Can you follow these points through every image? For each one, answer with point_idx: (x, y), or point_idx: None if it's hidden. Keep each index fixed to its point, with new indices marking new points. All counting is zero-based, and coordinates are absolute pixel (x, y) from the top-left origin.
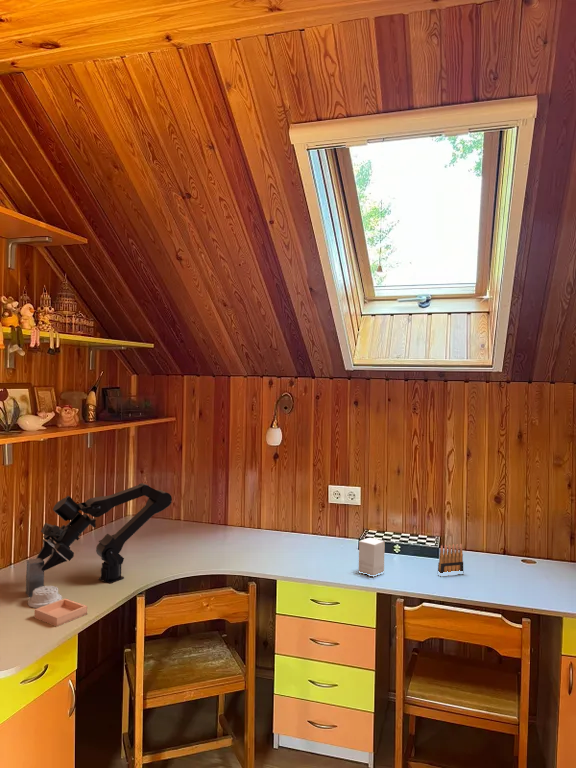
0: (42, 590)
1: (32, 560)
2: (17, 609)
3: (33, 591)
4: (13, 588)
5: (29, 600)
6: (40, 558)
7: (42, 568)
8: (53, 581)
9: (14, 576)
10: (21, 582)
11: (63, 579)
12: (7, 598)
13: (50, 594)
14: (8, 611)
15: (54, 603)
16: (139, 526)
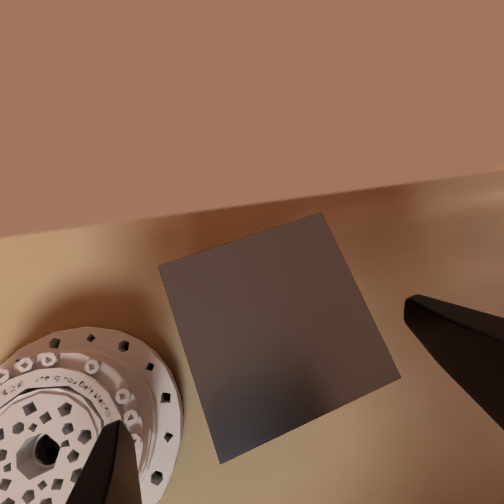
0: (22, 431)
1: (296, 279)
2: (21, 285)
3: (42, 358)
4: (338, 221)
5: (72, 335)
6: (370, 373)
7: (97, 442)
8: (434, 423)
9: (499, 203)
10: (419, 246)
11: (470, 488)
12: (203, 214)
13: None
14: (11, 245)
15: None
16: None
